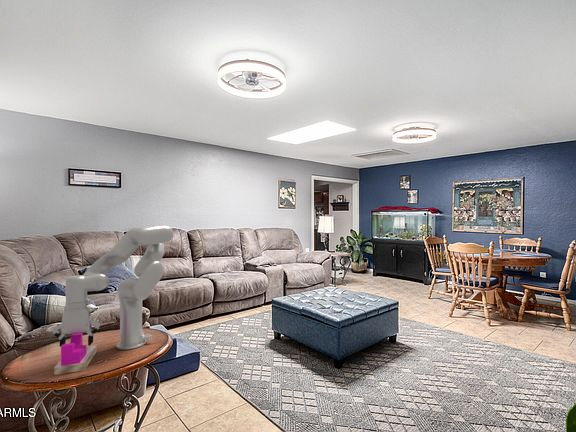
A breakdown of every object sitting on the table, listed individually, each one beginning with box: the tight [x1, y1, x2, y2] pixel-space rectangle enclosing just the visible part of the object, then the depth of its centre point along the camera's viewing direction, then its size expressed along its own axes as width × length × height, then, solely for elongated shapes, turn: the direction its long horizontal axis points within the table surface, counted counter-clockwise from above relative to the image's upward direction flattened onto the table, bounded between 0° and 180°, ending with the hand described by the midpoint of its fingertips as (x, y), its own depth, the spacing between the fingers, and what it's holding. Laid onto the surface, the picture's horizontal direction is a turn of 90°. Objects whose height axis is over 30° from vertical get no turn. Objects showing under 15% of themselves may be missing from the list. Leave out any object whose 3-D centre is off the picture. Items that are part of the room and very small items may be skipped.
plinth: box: [53, 345, 97, 376], centre depth 131 cm, size 10×19×3 cm, turn 20°
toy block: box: [60, 332, 87, 366], centre depth 130 cm, size 15×6×8 cm, turn 20°
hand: (76, 346), depth 131 cm, fingers open, 9 cm apart
